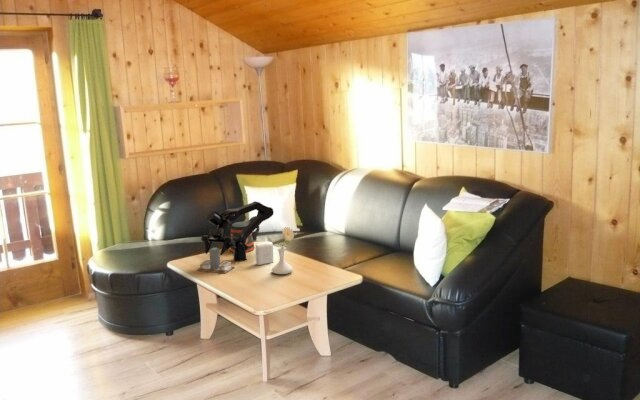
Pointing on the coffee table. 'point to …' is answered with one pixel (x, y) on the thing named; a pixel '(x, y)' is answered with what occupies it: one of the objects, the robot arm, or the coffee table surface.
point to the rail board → (223, 268)
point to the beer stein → (239, 227)
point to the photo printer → (264, 253)
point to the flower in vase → (282, 265)
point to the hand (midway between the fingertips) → (213, 254)
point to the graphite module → (214, 258)
